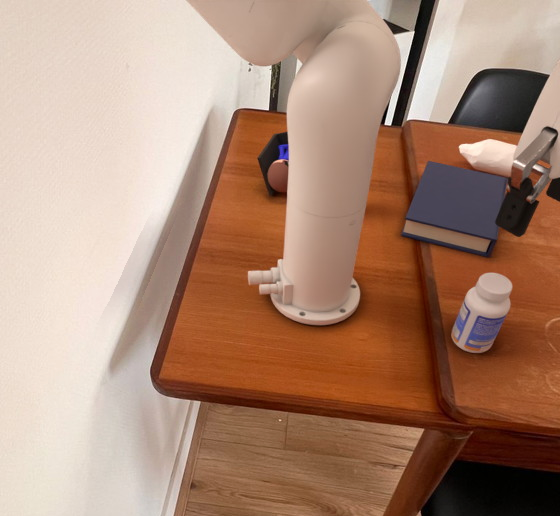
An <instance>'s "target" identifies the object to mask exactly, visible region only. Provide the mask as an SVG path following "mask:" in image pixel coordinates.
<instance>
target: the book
mask: <svg viewBox="0 0 560 516" xmlns="http://www.w3.org/2000/svg"><path fill="white" fill-rule="evenodd" d="M507 186H508V177H504V176H499V175H496V174H491V173H487V172H483V171H479V170H473V169H470V168H469V169H468V168H465V167H464V168H463V167H459V166H455V165H450V164H447V163H446V164H445V163H441V162H436V161H431V160H427V162H426V165H425V167H424V170H423V173H422V174H421V178H420V180H419V182H418V185H417V188H416V190H415V193H414V195H413V198H412V201H411V203H410V205H409V208H408V211H407V212H406V215H405V218H404V220H405V223H404V226H403V228H402V231H401V234H400V237H405V238H408V239H412V240H416V241H420V242H425V243H429V244H433V245H435V246H440V247H444V248H448V249H453V250H456V251H459V252H464V253H468V254H471V255H476V256H481V257H484V258H491V256H492V253H493V251H494V248H495V246H496V243H497V241H498V237H499V232H500V227H499V226H497V225H496V224H495V220H496V218H497V215H498V213H499V210H500V208H501V206H502V203H503V201H504V198H505V196H506V193H507V191H506V189H507Z"/></svg>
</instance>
